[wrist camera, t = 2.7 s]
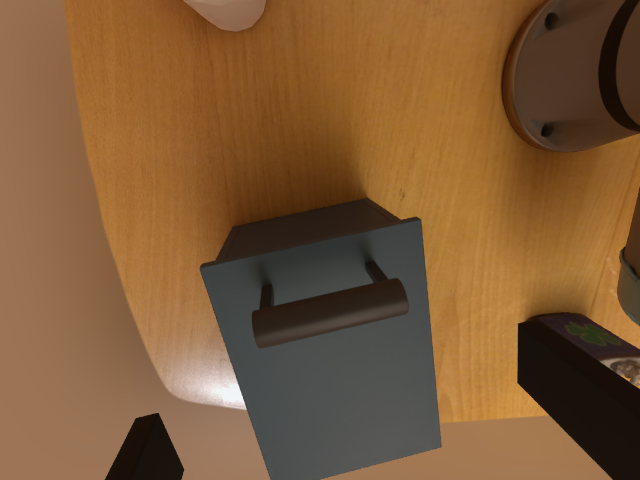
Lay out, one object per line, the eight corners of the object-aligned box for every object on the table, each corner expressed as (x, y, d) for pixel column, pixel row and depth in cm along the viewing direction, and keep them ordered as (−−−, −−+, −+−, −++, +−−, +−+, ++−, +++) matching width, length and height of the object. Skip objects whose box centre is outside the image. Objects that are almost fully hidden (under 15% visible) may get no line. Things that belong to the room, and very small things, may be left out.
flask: (522, 332, 42) (600, 393, 32) (528, 312, 42) (609, 368, 31) (584, 331, 44) (677, 389, 34) (590, 312, 43) (688, 365, 33)
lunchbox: (232, 226, 33) (206, 276, 21) (368, 197, 34) (417, 229, 22) (275, 376, 40) (274, 481, 28) (389, 348, 41) (437, 438, 28)
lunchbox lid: (201, 263, 21) (171, 312, 15) (416, 216, 22) (468, 245, 16) (274, 482, 28) (273, 577, 22) (437, 439, 28) (479, 519, 22)
